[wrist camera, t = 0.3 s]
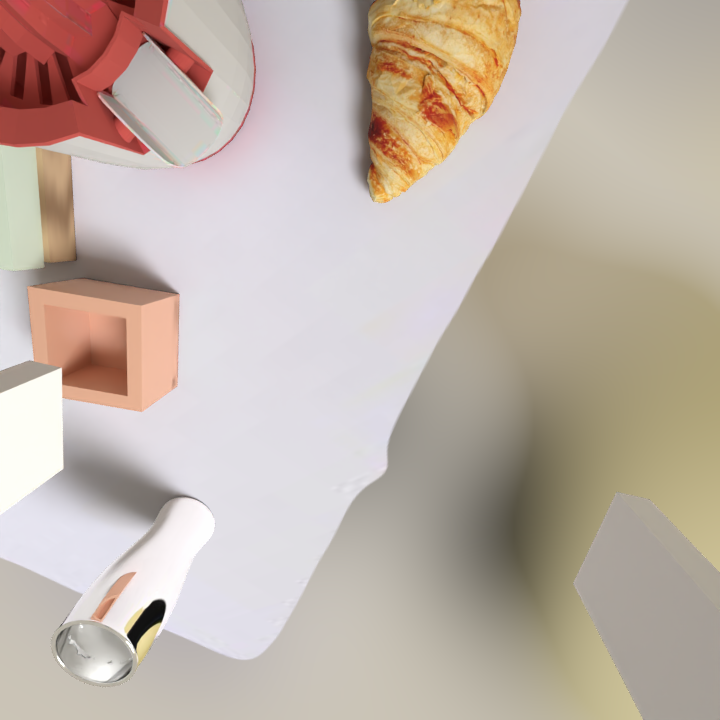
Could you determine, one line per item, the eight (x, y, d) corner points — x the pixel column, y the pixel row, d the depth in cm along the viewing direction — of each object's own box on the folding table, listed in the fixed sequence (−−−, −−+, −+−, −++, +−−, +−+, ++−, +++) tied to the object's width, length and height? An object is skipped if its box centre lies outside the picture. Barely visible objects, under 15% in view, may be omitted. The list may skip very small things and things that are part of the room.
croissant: (408, 218, 38) (457, 237, 31) (306, 173, 33) (339, 184, 26) (526, -62, 31) (620, -113, 24) (420, -173, 26) (502, -273, 19)
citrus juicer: (206, 242, 36) (-2, 254, 17) (46, 71, 33) (-429, -148, 14) (338, 102, 32) (261, -86, 13) (170, -106, 29) (-252, -752, 10)
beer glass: (206, 487, 43) (116, 613, 29) (228, 541, 45) (153, 684, 31) (146, 498, 44) (31, 625, 30) (170, 551, 46) (72, 693, 32)
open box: (82, 277, 38) (27, 286, 32) (179, 294, 37) (141, 305, 32) (87, 370, 40) (36, 393, 35) (177, 386, 40) (141, 411, 34)
